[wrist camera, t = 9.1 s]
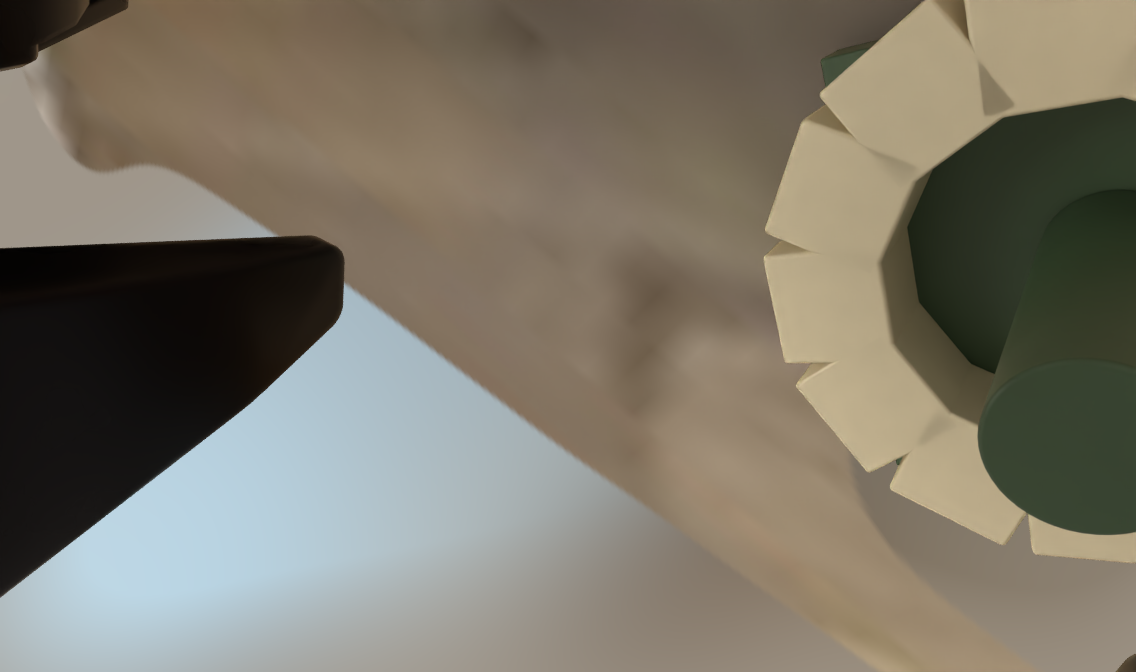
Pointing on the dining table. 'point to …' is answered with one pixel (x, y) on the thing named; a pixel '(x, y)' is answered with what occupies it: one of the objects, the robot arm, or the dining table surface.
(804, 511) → the dining table surface
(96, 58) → the dining table surface
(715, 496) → the dining table surface
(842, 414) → the ring
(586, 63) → the dining table surface
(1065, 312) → the peg stand
